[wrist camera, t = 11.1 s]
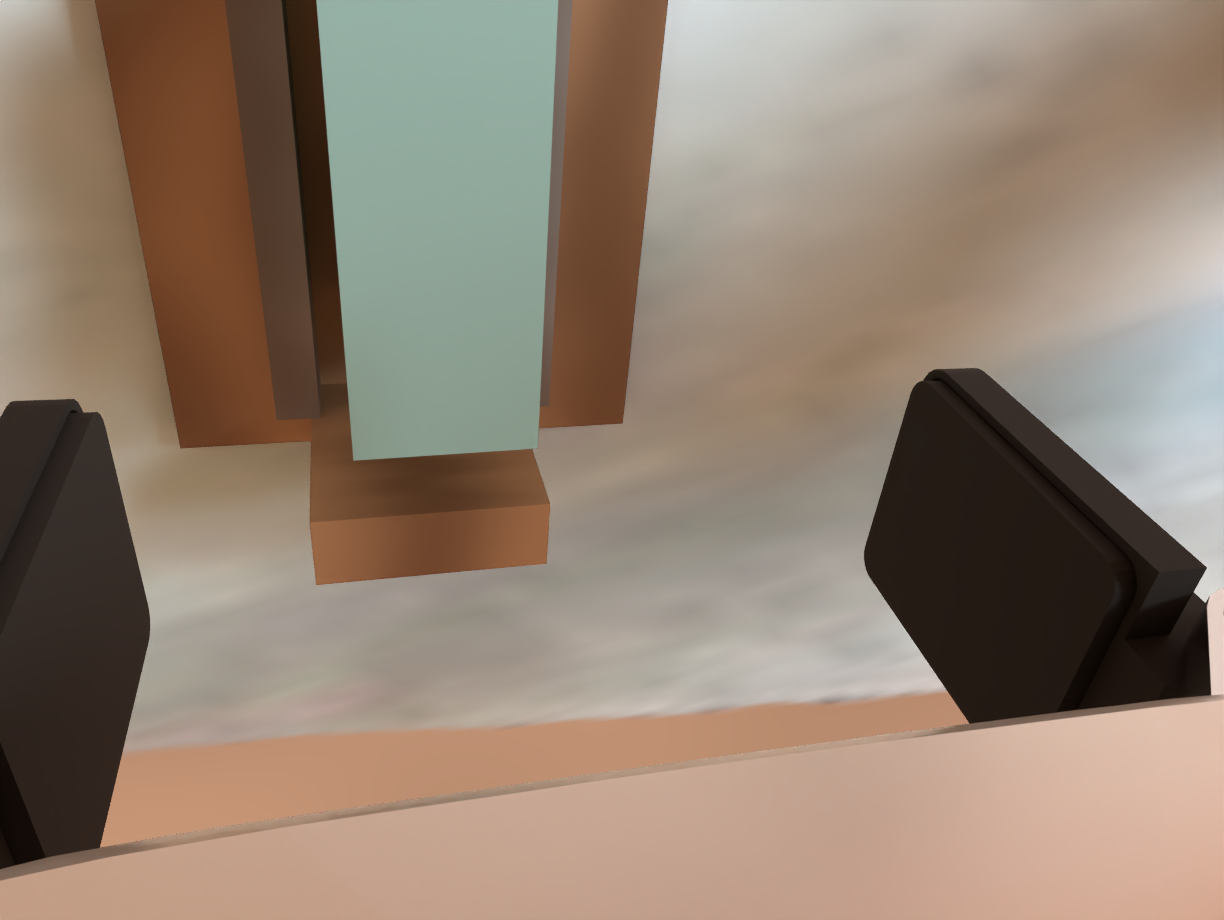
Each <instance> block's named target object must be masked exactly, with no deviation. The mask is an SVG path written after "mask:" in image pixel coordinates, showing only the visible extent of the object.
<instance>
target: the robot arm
mask: <svg viewBox="0 0 1224 920" xmlns="http://www.w3.org/2000/svg"><path fill="white" fill-rule="evenodd" d="M864 561H865V567H866V570H867V573H868V575H869V577H870V578H871V580H872V581H873V583H874V584H875V586H876V587H877V589H878V590H879V592H880V593H881V594H882V596H883V597H884V599H885V600H886V602H887V603H888V605H889V606H890V608H891V609H892V611H893V612H894V613H895V615H896V616H897V618H898V619H899V621H900V622H901V624H902V625H903V627H904V628H905V630H906V631H907V632H908V634H909V635H910V637H911V638H912V640H913V641H914V643H915V644H916V646H917V647H918V649H919V650H920V652H921V653H922V654H923V656H924V657H925V659H926V660H927V662H928V663H929V665H930V666H931V668H932V669H933V671H934V672H935V673H936V675H937V676H938V678H939V679H940V681H941V682H942V684H943V685H944V687H945V688H946V690H947V691H948V692H949V694H950V695H951V697H952V698H953V700H954V701H955V703H956V704H957V706H958V707H959V709H960V710H961V711H962V713H963V714H964V716H965V717H966V719H967V720H968V722H969V723H970V724H965V725H956V726H949V727H941V728H933V729H926V730H918V731H910V732H902V733H894V734H886V735H879V736H872V737H864V738H856V739H849V740H842V741H834V742H827V743H819V744H811V745H804V746H796V747H789V748H781V749H774V750H767V751H759V752H751V753H744V754H736V755H729V756H722V757H714V758H707V759H700V760H692V761H685V762H678V763H670V764H663V765H655V766H648V767H640V768H633V769H626V770H618V771H611V772H604V773H596V774H590V775H582V776H575V777H568V778H561V779H554V780H546V781H540V782H532V783H525V784H518V785H511V786H504V787H497V788H489V789H482V790H476V791H468V792H462V793H454V794H447V795H440V796H432V797H425V798H418V799H411V800H404V801H397V802H389V803H382V804H375V805H368V806H361V807H354V808H347V809H339V810H333V811H326V812H320V813H313V814H307V815H299V816H292V817H286V818H279V819H273V820H266V821H259V822H252V823H246V824H239V825H232V826H226V827H219V828H213V829H206V830H201V831H194V832H189V833H183V834H176V835H170V836H164V837H158V838H152V839H147V840H141V841H136V842H130V843H124V844H119V845H113V846H108V847H102V848H100V844H101V840H102V836H103V832H104V827H105V823H106V819H107V815H108V810H109V806H110V802H111V797H112V793H113V789H114V785H115V781H116V777H117V773H118V769H119V764H120V760H121V756H122V752H123V747H124V743H125V739H126V735H127V731H128V726H129V722H130V718H131V714H132V710H133V705H134V701H135V697H136V693H137V689H138V684H139V680H140V676H141V672H142V668H143V663H144V659H145V655H146V651H147V647H148V642H149V635H150V615H149V608H148V603H147V599H146V595H145V591H144V587H143V582H142V578H141V574H140V570H139V566H138V562H137V557H136V553H135V549H134V545H133V541H132V537H131V532H130V528H129V524H128V520H127V516H126V512H125V507H124V503H123V499H122V495H121V491H120V487H119V483H118V478H117V474H116V470H115V466H114V462H113V458H112V453H111V449H110V445H109V441H108V437H107V433H106V428H105V425H104V422H103V419H102V417H101V415H100V414H99V413H98V412H89V413H83V411H82V409H81V407H80V405H79V403H78V402H77V401H76V400H75V399H63V400H33V401H13V402H10V403H9V405H8V406H7V407H6V409H5V410H4V412H3V414H2V416H1V417H0V920H1224V588H1220V589H1218V590H1217V591H1216V592H1214V593H1213V594H1211V595H1210V596H1209V598H1208V600H1207V602H1206V603H1205V602H1203V601H1202V600H1201V599H1200V598H1199V597H1198V596H1197V595H1196V594H1195V593H1194V590H1195V588H1196V587H1197V585H1198V583H1199V581H1200V579H1201V578H1202V576H1203V574H1204V572H1205V570H1206V569H1207V567H1206V566H1204V565H1203V564H1202V563H1201V562H1200V561H1199V560H1198V559H1197V558H1195V557H1194V556H1193V555H1192V554H1191V553H1190V552H1189V551H1187V550H1186V549H1185V548H1184V547H1183V546H1182V545H1181V544H1179V543H1178V542H1177V541H1176V540H1175V539H1174V538H1173V537H1171V536H1170V535H1169V534H1168V533H1167V532H1166V531H1165V530H1164V529H1162V528H1161V527H1160V526H1159V525H1158V524H1157V523H1156V522H1154V521H1153V520H1152V519H1151V518H1150V517H1149V516H1148V515H1146V514H1145V513H1144V512H1143V511H1142V510H1141V509H1140V508H1138V507H1137V506H1136V505H1135V504H1134V503H1133V502H1132V501H1131V500H1129V499H1128V498H1127V497H1126V496H1125V495H1124V494H1123V493H1121V492H1120V491H1119V490H1118V489H1117V488H1116V487H1115V486H1113V485H1112V484H1111V483H1110V482H1109V481H1108V480H1107V479H1106V478H1104V477H1103V476H1102V475H1101V474H1100V473H1099V472H1098V471H1096V470H1095V469H1094V468H1093V467H1092V466H1091V465H1090V464H1088V463H1087V462H1086V461H1085V460H1084V459H1083V458H1082V457H1080V456H1079V455H1078V454H1077V453H1076V452H1075V451H1074V450H1073V449H1071V448H1070V447H1069V446H1068V445H1067V444H1066V443H1065V442H1063V441H1062V440H1061V439H1060V438H1059V437H1058V436H1057V435H1055V434H1054V433H1053V432H1052V431H1051V430H1050V429H1049V428H1047V427H1046V426H1045V425H1044V424H1043V423H1042V422H1041V421H1040V420H1038V419H1037V418H1036V417H1035V416H1034V415H1033V414H1032V413H1030V412H1029V411H1028V410H1027V409H1026V408H1025V407H1024V406H1022V405H1021V404H1020V403H1019V402H1018V401H1017V400H1016V399H1014V398H1013V397H1012V396H1011V395H1010V394H1009V393H1008V392H1007V391H1005V390H1004V389H1003V388H1002V387H1001V386H1000V385H999V384H997V383H996V382H995V381H994V380H993V379H992V378H991V377H989V376H988V375H987V374H986V373H985V372H984V371H982V370H980V369H978V368H965V369H936V370H933V371H931V372H929V373H928V375H927V376H926V377H925V378H924V381H921V382H919V383H917V384H916V385H915V386H914V388H913V390H912V392H911V394H910V398H909V401H908V405H907V408H906V411H905V415H904V418H903V421H902V425H901V428H900V431H899V435H898V438H897V442H896V445H895V448H894V452H893V455H892V458H891V462H890V465H889V468H888V472H887V475H886V478H885V482H884V485H883V489H882V492H881V495H880V499H879V502H878V505H877V509H876V512H875V515H874V519H873V522H872V526H871V529H870V532H869V536H868V539H867V542H866V546H865V551H864Z"/></svg>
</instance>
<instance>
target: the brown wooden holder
mask: <svg viewBox="0 0 1224 920" xmlns="http://www.w3.org/2000/svg"><path fill="white" fill-rule="evenodd" d="M95 2H96V8H97V13H98V18H99V23H100V29H101V34H102V39H103V44H104V50H105V55H106V60H107V65H108V71H109V76H110V81H111V86H112V92H113V97H114V102H115V107H116V113H117V118H118V123H119V128H120V134H121V139H122V144H123V149H124V154H125V160H126V165H127V170H128V175H129V181H130V186H131V191H132V196H133V202H134V207H135V212H136V217H137V223H138V228H139V233H140V238H141V244H142V249H143V254H144V259H145V265H146V270H147V275H148V280H149V286H150V291H151V296H152V301H153V306H154V312H155V317H156V322H157V327H158V333H159V338H160V343H161V348H162V354H163V359H164V364H165V369H166V375H167V380H168V385H169V390H170V396H171V401H172V406H173V411H174V417H175V422H176V427H177V432H178V438H179V443H180V448H194V447H212V446H229V445H247V444H265V443H283V442H300V441H311V471H310V531H311V540H312V549H313V558H314V568H315V577H316V585H321V584H332V583H342V582H353V581H364V580H375V579H385V578H396V577H407V576H418V575H428V574H439V573H450V572H461V571H471V570H482V569H493V568H504V567H514V566H525V565H536V564H546V562H547V546H548V530H549V514H550V502H549V499H548V496H547V493H546V490H545V487H544V484H543V481H542V478H541V475H540V472H539V469H538V466H537V463H536V460H535V457H534V454H533V451H532V449H522V450H507V451H492V452H477V453H461V454H446V455H431V456H416V457H401V458H386V459H371V460H356V461H353V449H352V437H351V424H350V412H349V399H348V387H347V374H346V362H345V350H344V337H343V325H342V312H341V300H340V287H339V275H338V263H337V250H336V238H335V225H334V213H333V200H332V188H331V176H330V163H329V151H328V138H327V126H326V113H325V101H324V88H323V76H322V64H321V51H320V39H319V26H318V14H317V1H316V0H95ZM667 5H668V0H558V18H557V40H556V62H555V84H554V106H553V127H552V149H551V171H550V193H549V215H548V237H547V259H546V280H545V302H544V324H543V346H542V368H541V390H540V411H539V428H549V427H567V426H585V425H602V424H620V423H623V415H624V405H625V396H626V387H627V377H628V368H629V359H630V349H631V340H632V331H633V322H634V312H635V303H636V294H637V284H638V275H639V266H640V256H641V247H642V238H643V229H644V219H645V210H646V201H647V191H648V182H649V173H650V163H651V154H652V145H653V135H654V126H655V117H656V108H657V98H658V89H659V80H660V70H661V61H662V52H663V42H664V33H665V24H666V15H667Z"/></svg>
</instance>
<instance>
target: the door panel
mask: <svg viewBox="0 0 1224 920" xmlns="http://www.w3.org/2000/svg"><path fill="white" fill-rule="evenodd" d="M316 1H317V14H318V26H319V39H320V51H321V64H322V76H323V88H324V101H325V113H326V126H327V138H328V151H329V163H330V176H331V188H332V200H333V213H334V225H335V238H336V250H337V263H338V275H339V287H340V300H341V312H342V325H343V337H344V350H345V362H346V374H347V387H348V399H349V412H350V424H351V437H352V449H353V461H356V460H371V459H386V458H401V457H416V456H431V455H446V454H461V453H477V452H492V451H507V450H522V449H537V448H538V433H539V411H540V390H541V368H542V346H543V324H544V302H545V280H546V259H547V237H548V215H549V193H550V171H551V149H552V127H553V106H554V84H555V62H556V40H557V18H558V0H316Z"/></svg>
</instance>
